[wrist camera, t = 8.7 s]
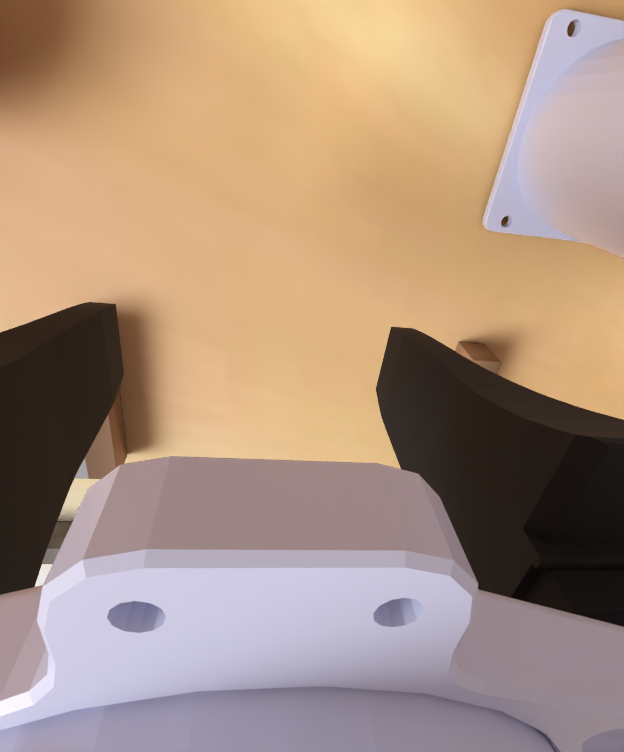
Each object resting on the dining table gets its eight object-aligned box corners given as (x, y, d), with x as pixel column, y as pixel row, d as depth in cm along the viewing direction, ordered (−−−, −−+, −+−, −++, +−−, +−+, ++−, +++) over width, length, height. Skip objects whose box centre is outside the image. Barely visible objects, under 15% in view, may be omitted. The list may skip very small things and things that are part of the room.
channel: (484, 344, 24) (505, 367, 22) (384, 608, 37) (391, 639, 35) (-111, 297, 20) (-156, 320, 18) (15, 614, 33) (-2, 649, 31)
